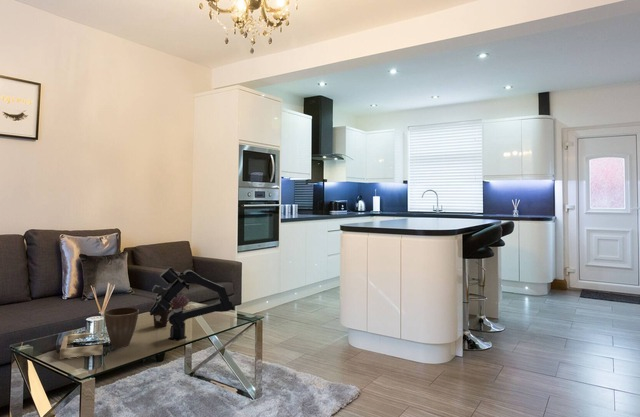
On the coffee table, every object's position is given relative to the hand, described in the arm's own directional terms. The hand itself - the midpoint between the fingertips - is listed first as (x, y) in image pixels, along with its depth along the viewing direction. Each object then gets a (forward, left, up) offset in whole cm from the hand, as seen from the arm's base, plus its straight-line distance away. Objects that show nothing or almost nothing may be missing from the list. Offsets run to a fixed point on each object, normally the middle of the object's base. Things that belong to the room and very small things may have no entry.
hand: (150, 313), depth 199 cm
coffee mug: (+12, -22, -14) cm, 28 cm away
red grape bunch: (+29, -55, -14) cm, 64 cm away
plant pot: (+8, +10, -14) cm, 19 cm away
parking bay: (+18, +22, -14) cm, 31 cm away
